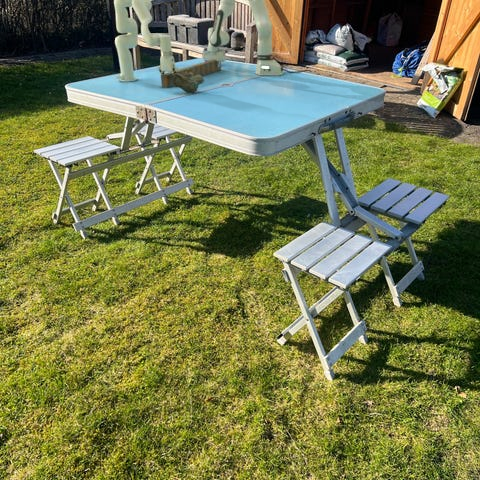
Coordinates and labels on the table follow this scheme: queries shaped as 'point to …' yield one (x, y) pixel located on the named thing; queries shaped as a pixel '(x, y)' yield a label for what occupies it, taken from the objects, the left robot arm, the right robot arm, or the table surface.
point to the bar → (195, 69)
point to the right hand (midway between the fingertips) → (214, 66)
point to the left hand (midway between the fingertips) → (169, 80)
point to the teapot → (188, 81)
